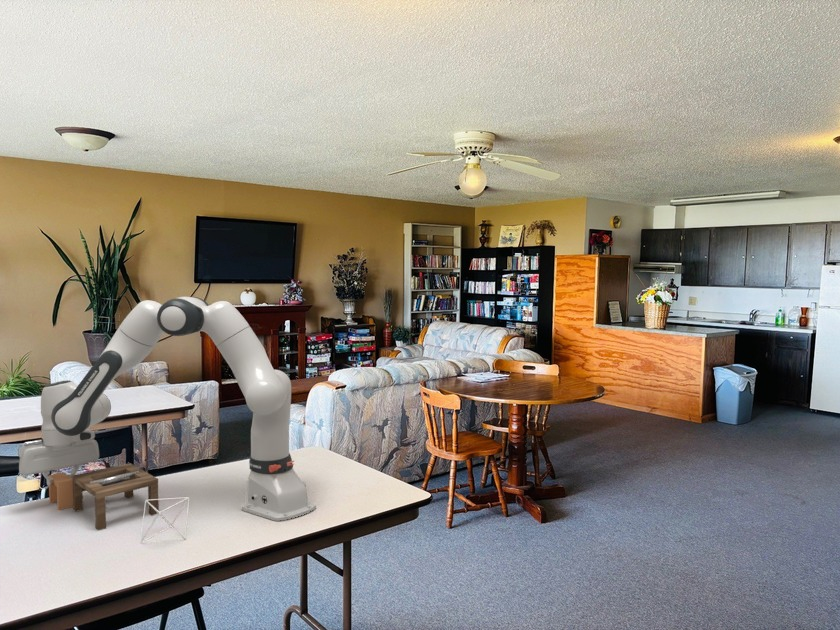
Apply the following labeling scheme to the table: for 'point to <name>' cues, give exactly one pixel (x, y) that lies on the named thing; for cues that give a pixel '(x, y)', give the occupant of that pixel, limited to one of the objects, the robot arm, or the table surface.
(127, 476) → the grey textured rod
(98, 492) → the small wooden table
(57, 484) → the tan cardboard brick
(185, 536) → the geometric polyhedron
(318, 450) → the table surface
